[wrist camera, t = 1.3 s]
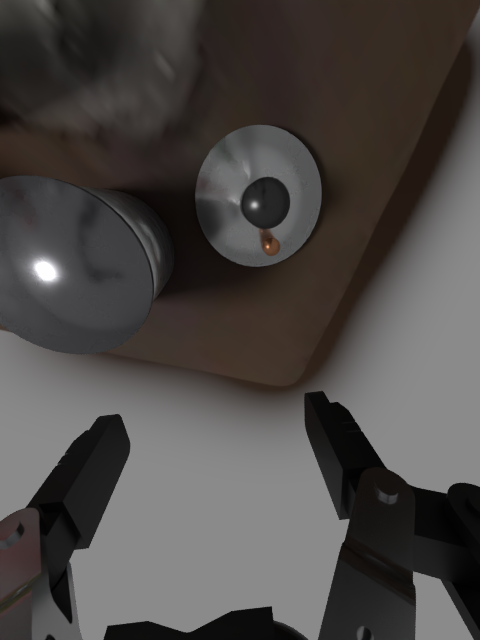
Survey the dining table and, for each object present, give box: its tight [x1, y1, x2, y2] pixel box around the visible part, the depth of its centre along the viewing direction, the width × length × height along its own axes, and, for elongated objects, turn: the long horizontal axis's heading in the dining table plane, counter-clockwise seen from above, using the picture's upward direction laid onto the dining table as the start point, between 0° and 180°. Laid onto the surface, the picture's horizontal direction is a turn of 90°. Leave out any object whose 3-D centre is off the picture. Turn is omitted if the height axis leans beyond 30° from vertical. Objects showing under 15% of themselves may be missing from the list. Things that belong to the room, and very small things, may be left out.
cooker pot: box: [0, 175, 175, 354], centre depth 22 cm, size 13×13×11 cm
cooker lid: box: [195, 125, 322, 267], centre depth 23 cm, size 13×13×6 cm
